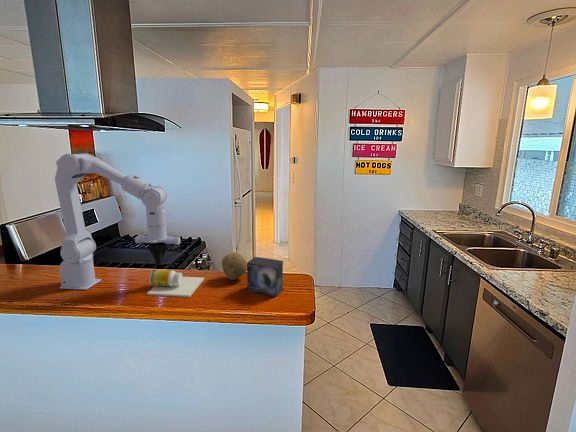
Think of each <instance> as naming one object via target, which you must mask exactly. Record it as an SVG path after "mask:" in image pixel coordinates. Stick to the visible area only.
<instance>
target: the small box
mask: <svg viewBox="0 0 576 432" xmlns="http://www.w3.org/2000/svg"><path fill="white" fill-rule="evenodd" d="M246 262H247V271H246V273H247V274H246V276H247V278H246V279H247V281H246V283H247V288H246V289H247V291H246V292H248V293H254V294H258V295H263V296H268V297H273V298H277V297H278V296H279V295H280V293H282V291H283V279H284V278H283V277H284V276H283V275H284V273H283V271H284V270H283V269H284V267H283V266H284V265H283V264H284V260H280V259H274V258H273V259H272V258H267V257H266V258H265V257H260V256H254V257H253V258H251V259H250V260H248V261H246Z"/></svg>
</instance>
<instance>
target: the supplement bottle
mask: <svg viewBox="0 0 576 432" xmlns="http://www.w3.org/2000/svg"><path fill="white" fill-rule="evenodd" d="M183 277H184V276H183V273H182V272H177V271H175V270H173V269H172V270H167V269H153V270H152V271H151V272H150V273H149V277H148V278H149V280H148V282H149V285H150V286H152V287H154V286H169V287H172V286H174V285H175V284H176V285H180V284H181V283H182V279H183Z"/></svg>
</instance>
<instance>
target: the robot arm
mask: <svg viewBox="0 0 576 432" xmlns="http://www.w3.org/2000/svg"><path fill="white" fill-rule="evenodd" d="M56 167H57V169H56V173H55V176H54V183H55V186H56V187H55V188H56V192H57V197H58V201H59V207H60V211H61V217H62V221H63V226H64V230H65V235H64V236H63V238H62V239H61V242H60V244H61V248H60V252H59V253H60V256H61V258H62V260H63V261H62V262H61V263H60V264H59V267H58V268H59V277H60V284H61V285H60V286H59V289H61V290H62V289H63V290H65V289H66V290H81V291H82V290H84V291H86V290H88V289H90V288H91V287H94V285H96V284H98V283H100V282H101V281H102V278H96V273H95V266H94V253H95V251H96V249H97V244H96V242H95V240H94V238H93V237H92V234H91V232H90V231H87V229H86V225H85V220H84V214H83V210H82V209H83V208H82V205H81V199H80V194H79V190H78V189H79V188H78V183H79V181H81V179H83V177H85V176H87V175H90V174H97V175H99V176H101V177H104V178H105V179H108V180H110V181H112V182H114V183H116V184H118V185H120V186H121V189H122V191H124V192H125V193H128V194H130V195H131V196H133V197H135V198H137V199H139V200H140V201H141V202H142V204H143V205H144V206H145V214H146V215H145V216H146V225H147V229H146V230H147V235H137V236H136V237H134V240H135V241H134V242H135V244H139V243H141V244H148V245H147V246H146V247H147V249H148V250H149V252H150V253H151V255H152V258H153V259H154V262H155V265H157V266H161V265H163V264H164V257H165V253H166V251H167V249H168V246H169V244H170V245H176V246H177V245H180V244H181V242H182V241H181V237H177V236H172V235H168V233H167V220H166V219H167V217H166V209H165V207H166V206H165V204H166V203H165V202H166V200H167V197H168V194H167V192H166V190H164V188H162V187H161V186H160V185H159V186H154V184H153V183H151V182H150V183H148V182H147V181H145V180H143V179H141V176H139V175H138V174H134V175H133V174H129V175H126V174H124V173H123V172H121V171H119V170H118V169H116V168H115V167H113V166H111V165H109V164H108V163H106V162H104V161H103V160H101V158H99V157H97V156H94V155H92V154H90V153H86V152H84V153H73V154H72V153H64V154H63V155H61V156H60V157H59V159H57V160H56Z"/></svg>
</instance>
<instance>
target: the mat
mask: <svg viewBox="0 0 576 432" xmlns="http://www.w3.org/2000/svg"><path fill="white" fill-rule="evenodd" d="M204 280H205V277H199V276H198V277H195V276H183V279H182V283H181V284H180V285H176V284H175V285H174V286H172V287H169V286H152V288H151V289H150V290H149V291H148V292H147V293H146V295H147V296H160V297H176V298H177V297H181V298H190V297H192V295H193V294H194V293H195V291H196V290H197V289H198V288H199V286H200V285H201V284H202V283H203V281H204Z"/></svg>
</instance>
